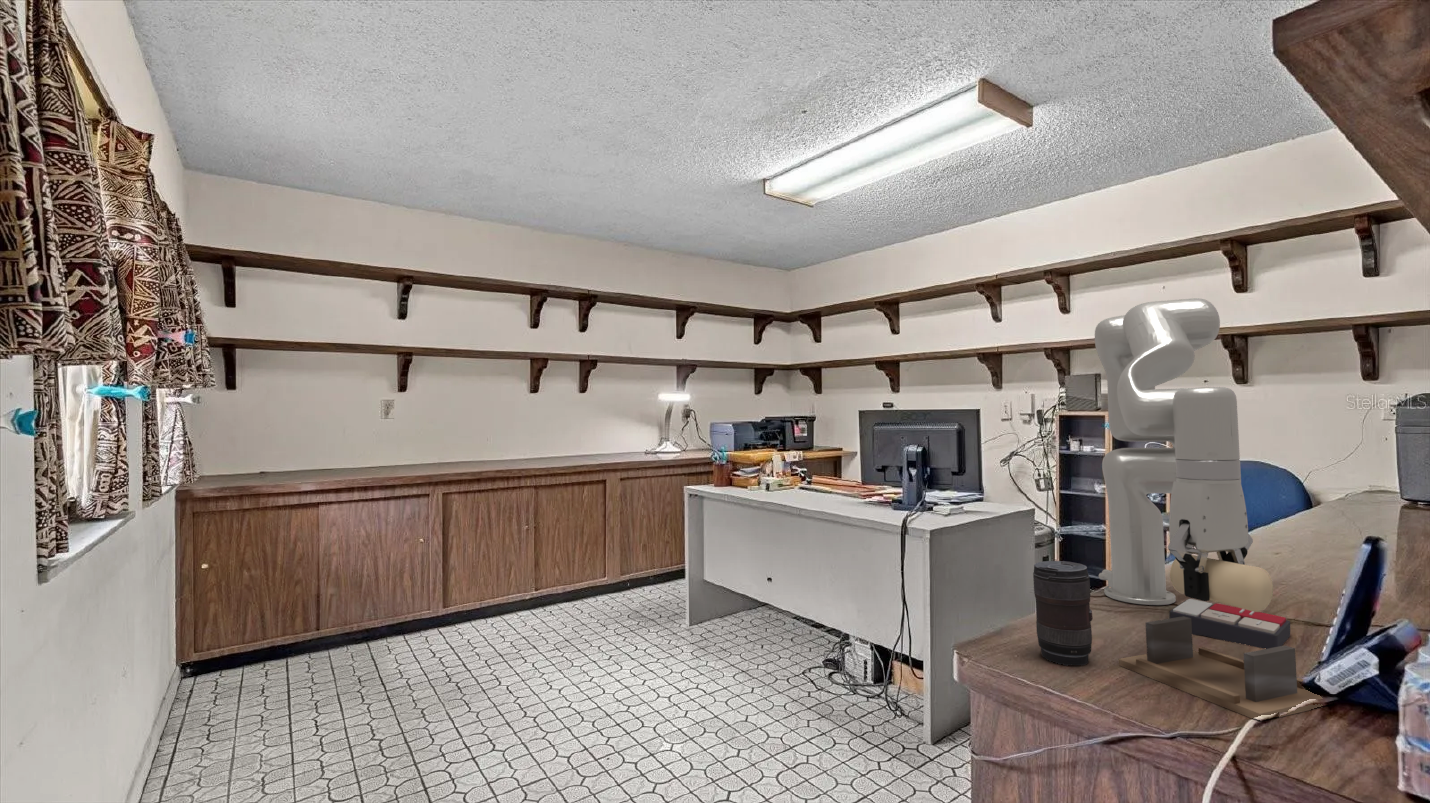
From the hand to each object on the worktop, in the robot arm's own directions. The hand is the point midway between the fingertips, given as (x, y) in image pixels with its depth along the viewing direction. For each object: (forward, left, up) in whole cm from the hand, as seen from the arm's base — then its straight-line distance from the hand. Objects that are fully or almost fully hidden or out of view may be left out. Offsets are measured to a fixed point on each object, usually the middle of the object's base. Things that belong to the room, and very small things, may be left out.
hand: (1213, 595), depth 93 cm
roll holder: (0, 0, -13) cm, 13 cm away
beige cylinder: (+1, 0, +2) cm, 2 cm away
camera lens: (-15, -12, -13) cm, 23 cm away
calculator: (-15, +24, -13) cm, 31 cm away
